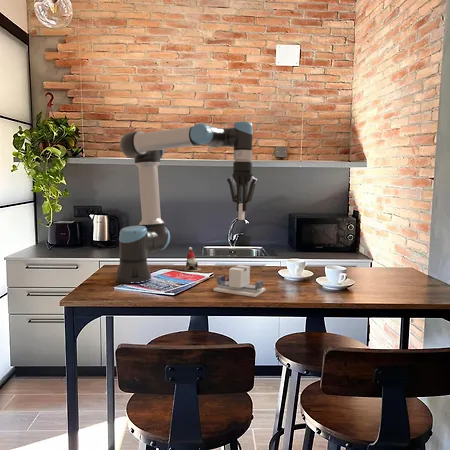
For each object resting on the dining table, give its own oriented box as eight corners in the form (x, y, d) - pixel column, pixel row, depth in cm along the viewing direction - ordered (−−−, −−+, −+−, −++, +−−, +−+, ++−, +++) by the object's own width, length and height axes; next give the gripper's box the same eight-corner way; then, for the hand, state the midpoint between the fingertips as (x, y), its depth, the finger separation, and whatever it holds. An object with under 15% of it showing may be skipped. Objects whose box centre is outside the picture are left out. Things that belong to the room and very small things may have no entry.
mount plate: (213, 290, 172) (213, 288, 171) (225, 285, 181) (225, 282, 181) (254, 296, 164) (255, 294, 164) (265, 290, 173) (265, 288, 173)
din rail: (215, 286, 174) (215, 277, 173) (222, 283, 179) (222, 274, 179) (258, 293, 166) (258, 283, 165) (263, 289, 171) (264, 280, 171)
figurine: (198, 265, 203) (183, 247, 208) (188, 279, 208) (174, 261, 212) (209, 262, 210) (194, 245, 215) (198, 276, 214) (184, 259, 219)
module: (228, 286, 169) (229, 268, 169) (238, 281, 177) (238, 264, 177) (240, 287, 167) (240, 270, 166) (249, 283, 175) (250, 266, 174)
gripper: (224, 160, 172) (223, 219, 174) (254, 160, 166) (252, 221, 169) (232, 161, 178) (231, 217, 181) (261, 161, 173) (259, 219, 175)
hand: (241, 219), depth 175 cm, fingers closed
